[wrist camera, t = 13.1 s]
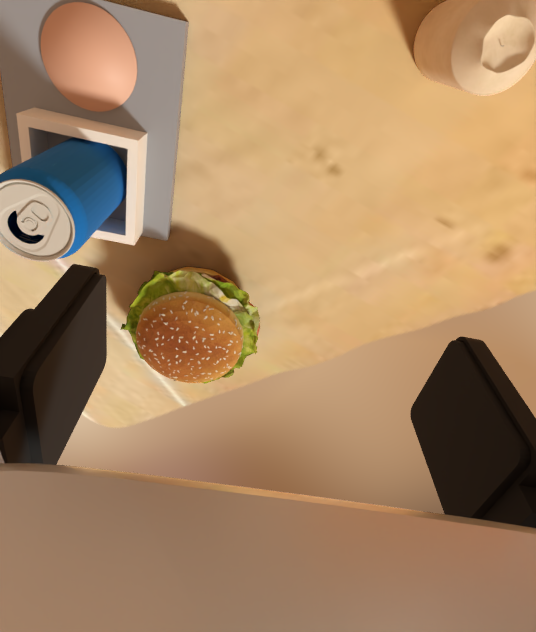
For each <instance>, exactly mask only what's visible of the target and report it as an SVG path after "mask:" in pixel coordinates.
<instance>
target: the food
mask: <svg viewBox="0 0 536 632" xmlns="http://www.w3.org/2000/svg"><path fill="white" fill-rule="evenodd" d="M129 307H131V309H130V312H129V314H128V316H127V323H126V325H125V324H122V327H121V329H125V330H129V332H130V334H131V336H132V339H133V342H134V344H135V346H136V349H137V352H138V354H139V356H140V358H142V359H144V360H145V361H146V362H147V363H148V364H149V365H150V366H151V367H152V368H153V369H154V370H156V371H157V372H158V373H160V374H162V375H164V376H166V377H168V378H169V379H173V380H174V381H175V380H177V381H181V382H187V383H200V382H202V383H208V382H211V381H214V380H217V379H219V378H221V377H225V378H226V377H230V376H232V375H233V373H234V369H235V368H240V367H242V365H243V362H244V359H245V358H246V356H248V355H250V354H252V353H254V352H255V354H256V353H257V351H256V350H257V346H256V345H255V344H256V342H257V340H258V337H257V336H258V332H259V328H260V323H259V322H260V317H259V314H258V310H257V307H254V306H253V305H252V304H251V303H250V302H249V295H248V293H246V292H245V291H242V290H240V289H239V288H238V287H237V286H236V285H235V283H234V282H233V281H231V280H229V279H228V278H226V277H224V276H222V275H221V274H219V273H217V272H215V271H213V270H210V269H202V268H194V267H184V268H180V269H176V270H173V271H170V272H159V271H154V274H153V277H152V278H151V280H150V281H149V282H144V283H143V284H142V286H141V287H140V289H139V291H138V296H137V298H136V299H135V300H134V302H133V303H132V304H130V306H129ZM121 329H120V330H121Z"/></svg>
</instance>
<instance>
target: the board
mask: <svg viewBox="0 0 536 632" xmlns="http://www.w3.org/2000/svg"><path fill="white" fill-rule="evenodd" d="M188 23H189V22H187V21H183V20H179V19H175V18H171V17H167V16H163V15H159V14H156V13H152V12H148V11H144V10H140V9H136V8H132V7H128V6H124V5H121V4H117V3H113V2H109V1H105V0H0V73H1V80H2V88H3V96H4V104H5V112H6V120H7V127H8V135H9V143H10V151H11V159H12V167H15V166H17V165H19V164H21V163H22V162H24V161H26V160H28V159H30V158H32V157H34V156H36V155H38V154H40V153H42V152H44V151H46V150H48V149H50V148H52V147H54V146H56V145H58V144H60V143H62V142H64V141H66V140H68V139H70V138H72V137H76V138H81V139H85V140H90V141H94V142H99V143H103V144H108V145H109V146H110V147H112V148H113V149H114V150H115V151H116V152H117V153H118V155H119V156H120V157H121V159H122V160H123V162H124V164H125V166H126V169H127V195H126V197H125V199H124V200H123V201H122V202H121V204H120V205H119V206H118V207H117V208H116V209H115V210H114V211H113V212H112V213H111V215H110V216H109V217H108V218H107V219H106V220H105V221H104V222H103V223H102V224H101V226H100V227H99V228H98V229H97V230H96V231H95V232H94V233H93V234H92V235H91V237H93V238H98V239H104V240H109V241H114V242H119V243H124V244H129V245H135V244H136V242H137V240H138V239H139V237H140V236H145V237H150V238H155V239H160V240H165V241H167V240H168V238H169V236H170V227H171V215H172V204H173V193H174V181H175V170H176V159H177V147H178V136H179V125H180V113H181V102H182V91H183V79H184V68H185V57H186V45H187V34H188Z"/></svg>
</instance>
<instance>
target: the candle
mask: <svg viewBox="0 0 536 632" xmlns="http://www.w3.org/2000/svg"><path fill="white" fill-rule="evenodd" d="M414 59H415V62H416V65H417V67H418V69H419V70H420V72H421V73H422V74H423V75H424V76H425V77H426V78H428V79H430V80H432V81H434V82H437V83H440V84H443V85H446V86H449V87H452V88H455V89H458V90H461V91H465V92H468V93H471V94H474V95H479V96H489V95H494V94H497V93H500V92H502V91H505V90H506V89H508V88H510V87H511V86H513V85H514V84H516V83H517V82H518V81H519V80H520V79H521V78H522V77H523V76H524V75H525V74H526V73H527V72H528V70H529V69H530V68H531V66H532V65H533V63H534V62H535V60H536V0H446V1H444V2H442V3H440V4H439V5H437V6H436V7H435V8H434V9H432V10H431V11H430V12H429V13H428V14H427V15H426V17H425V18H424V19H423V21H422V23H421V24H420V26H419V28H418V31H417V33H416V36H415V40H414Z"/></svg>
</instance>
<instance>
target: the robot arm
mask: <svg viewBox="0 0 536 632" xmlns="http://www.w3.org/2000/svg"><path fill="white" fill-rule="evenodd" d="M106 355H107V350H106V277H105V275H99V270H98V269H97V268H93V267H88V266H82V265H77V264H73V265H72V266H71V267H70V268H69V269H68V270H67V271H66V272H65V274H64V275H63V276H62V277H61V278H60V280H59V281H58V282H57V283H56V284H55V285H54V287H53V288H52V289H51V290H50V291H49V293H48V294H47V295H46V296H45V297H44V298H43V300H42V301H41V302H40V303H39V304H38V306H37V307H36V308H35V309H27V310H25V311H24V312H22V313H21V314H20V316H19V317H18V318H17V319H16V320H15V321H14V322H13V323H12V325H11V326H10V327H9V328H8V329H7V330H6V331H5V333H4V334H3V335H2V336H1V337H0V632H536V418H535V417H534V415H533V414H532V412H531V411H530V409H529V408H528V406H527V405H526V404H525V402H524V400H523V399H522V398H521V396H520V395H519V393H518V392H517V390H516V389H515V387H514V386H513V384H512V383H511V381H510V380H509V378H508V377H507V375H506V374H505V372H504V371H503V369H502V368H501V366H500V365H499V363H498V362H497V360H496V359H495V358H494V356H493V355H492V353H491V352H490V350H489V349H488V347H487V346H486V344H485V343H484V342H483V341H481V340H477V339H472V338H467V337H459V338H457V339H456V340H454V341H451V342H450V343H449V344H448V346H447V348H446V350H445V351H444V353H443V355H442V356H441V358H440V360H439V361H438V363H437V365H436V366H435V368H434V370H433V372H432V374H431V375H430V377H429V378H428V380H427V382H426V384H425V385H424V387H423V389H422V390H421V392H420V394H419V395H418V397H417V399H416V401H415V402H414V404H413V406H412V408H411V420H412V423H413V426H414V428H415V432H416V434H417V437H418V440H419V443H420V445H421V448H422V451H423V454H424V457H425V460H426V463H427V465H428V468H429V471H430V474H431V476H432V479H433V482H434V485H435V488H436V491H437V493H438V496H439V499H440V502H441V505H442V508H443V510H444V513H445V514H438V513H431V512H424V511H417V510H410V509H403V508H395V507H389V506H382V505H374V504H367V503H359V502H352V501H345V500H337V499H330V498H322V497H315V496H308V495H300V494H293V493H285V492H278V491H270V490H263V489H256V488H248V487H240V486H232V485H224V484H217V483H209V482H201V481H194V480H186V479H178V478H170V477H162V476H155V475H147V474H138V473H130V472H120V471H112V470H103V469H94V468H86V467H76V466H64V465H56V464H57V462H58V460H59V458H60V456H61V454H62V452H63V450H64V448H65V446H66V444H67V442H68V440H69V437H70V436H71V433H72V432H73V430H74V427H75V426H76V424H77V422H78V420H79V418H80V415H81V414H82V412H83V410H84V408H85V406H86V404H87V402H88V399H89V397H90V395H91V393H92V391H93V389H94V387H95V385H96V383H97V381H98V379H99V377H100V375H101V373H102V371H103V369H104V366H105V363H106Z"/></svg>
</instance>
